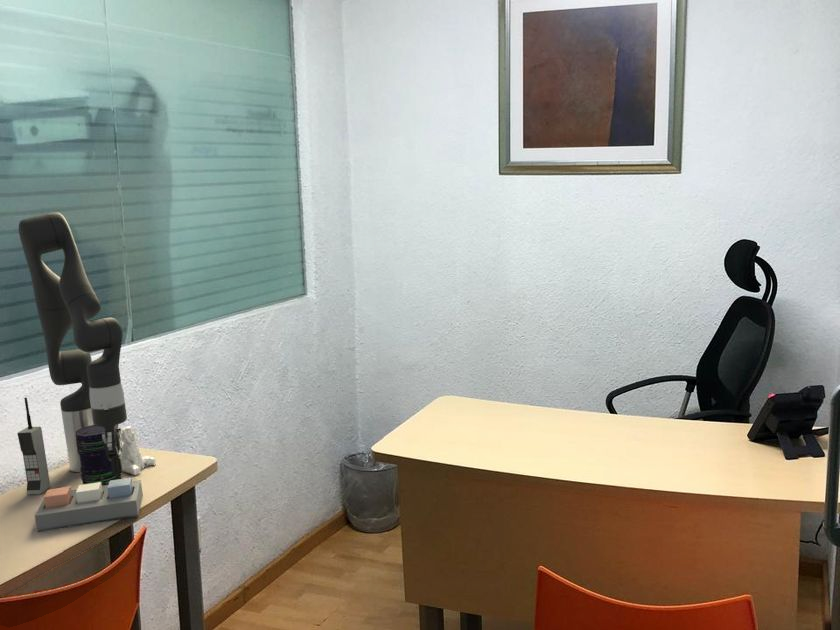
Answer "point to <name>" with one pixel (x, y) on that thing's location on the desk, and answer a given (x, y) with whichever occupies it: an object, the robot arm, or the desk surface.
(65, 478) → the desk surface
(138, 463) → the sitting furry creature
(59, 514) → the key console
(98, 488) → the white key
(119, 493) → the blue-grey block
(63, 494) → the orange block
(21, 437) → the vintage mobile phone
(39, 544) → the desk surface
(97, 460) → the storage jar
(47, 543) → the desk surface
